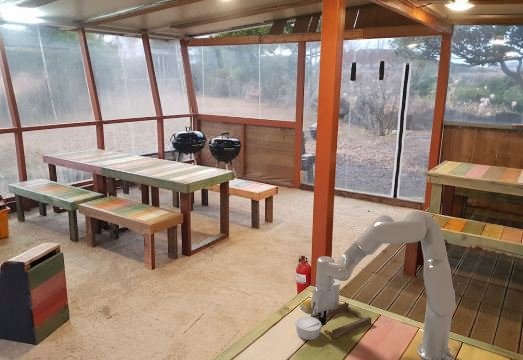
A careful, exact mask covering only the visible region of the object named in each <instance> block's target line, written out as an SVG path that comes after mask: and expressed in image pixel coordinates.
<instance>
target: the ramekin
mask: <svg viewBox="0 0 523 360" xmlns="http://www.w3.org/2000/svg"><path fill="white" fill-rule="evenodd" d="M322 326H323V325H321V322H320V321H319V320H318V319H316V318H314V317H311V316H309V315H308V316H300V317H298V318H296V320H295V328H296V334H297V335H298V337H299V338H301V339H303V340H305V341H306V340H310V341H311V340H315V339H317V338H318V337H319V335H320V332H321V330H322Z"/></svg>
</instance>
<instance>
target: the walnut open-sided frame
mask: <svg viewBox="0 0 523 360" xmlns="http://www.w3.org/2000/svg"><path fill="white" fill-rule="evenodd" d="M349 305H350V304H349V303H348V302H345V303H341V304H339V305H338V306H335V307H333V309H332V310H330V311H329V313H328V316H326V318H328V317H331V316H334V315H338V314H341V313H342V312H345V311H347V312H349V313H350V314H352V315H354V316H355V317H357V318H359V319H358V320H356V321H353V322H350V323H348V324H345V325H343V326H340V327H337V328H334V329H332V332H331V337H332V338H333V339H335V338H339V337H341V336H343V335H346V334H349V333H351V332H354V331H356V330H359V329H362V328H364V327H367V326H369V325H372V317H371V316H366V317H364V316H363V315H361V314H359V313H357V312H356V311H355V310H354V309H352V308H350V306H349ZM320 313H321V312H320ZM310 317H314V318H316V319H318V320H319V315H314V314H313V313H312V314H310Z"/></svg>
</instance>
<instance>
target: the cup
mask: <svg viewBox="0 0 523 360" xmlns="http://www.w3.org/2000/svg"><path fill="white" fill-rule="evenodd" d="M334 281H335V283H334V284H333V287H334V292H335V304H334V307H335V306H338V305H340V304H339V303H340V289H341V281H340V280H337V279H334Z"/></svg>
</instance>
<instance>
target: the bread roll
mask: <svg viewBox="0 0 523 360" xmlns="http://www.w3.org/2000/svg"><path fill="white" fill-rule="evenodd" d="M311 301H312V299H306V300H305V301H302V302H300V305H299V309H300V310H301V311H303V312H304V313H309V314H310V313H313V309H312V308H311Z"/></svg>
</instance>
